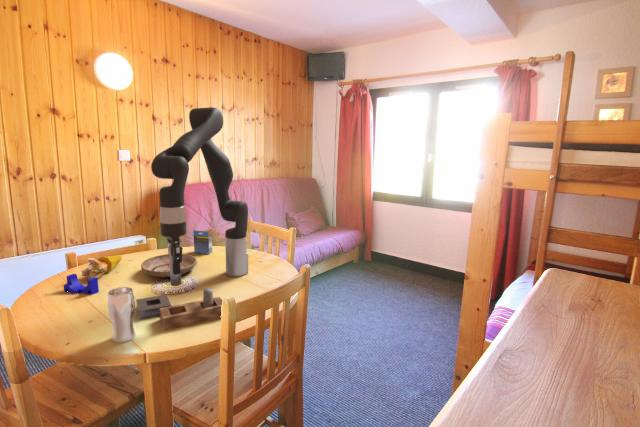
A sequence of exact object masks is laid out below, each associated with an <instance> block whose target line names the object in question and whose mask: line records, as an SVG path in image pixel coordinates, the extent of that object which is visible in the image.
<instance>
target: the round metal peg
mask: <svg viewBox="0 0 640 427" xmlns="http://www.w3.org/2000/svg"><path fill="white" fill-rule="evenodd" d="M169 258H170V285H171V287H176V286H177V287H178V286H181V285H182V274H181V273H180V274H176V275H174V274H173V265H172V256H170V252H169ZM175 259H178V258H175ZM180 270H181V263H180Z"/></svg>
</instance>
